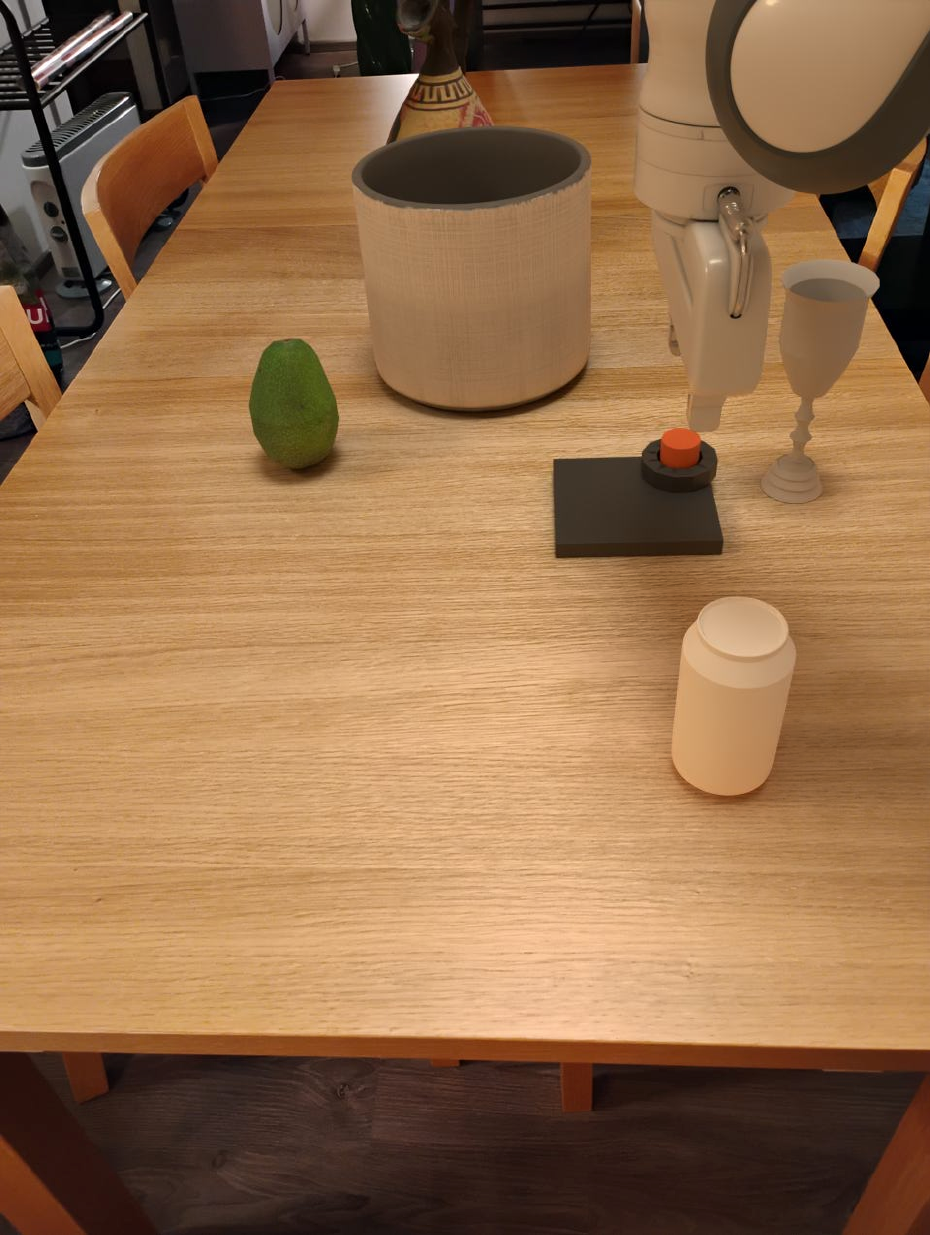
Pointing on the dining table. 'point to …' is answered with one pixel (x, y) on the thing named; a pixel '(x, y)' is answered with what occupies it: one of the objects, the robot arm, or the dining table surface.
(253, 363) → the dining table surface
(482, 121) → the ceramic jug
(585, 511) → the scale
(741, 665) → the beverage can
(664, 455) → the button
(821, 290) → the chalice
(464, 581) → the dining table surface
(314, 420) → the avocado
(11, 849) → the dining table surface
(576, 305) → the planter
